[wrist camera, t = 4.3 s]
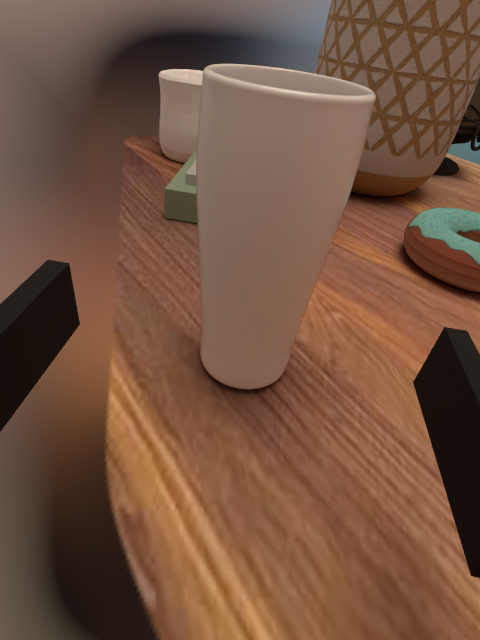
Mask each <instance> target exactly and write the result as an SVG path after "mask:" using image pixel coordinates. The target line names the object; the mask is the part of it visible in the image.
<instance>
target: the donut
mask: <svg viewBox="0 0 480 640" xmlns="http://www.w3.org/2000/svg"><path fill="white" fill-rule="evenodd" d="M404 247H405V250H406V252H407V254H408V255H409V257H410V258H411V259H412V260H413V261H414V262H415V263H416V264H417V265H418V266H419V267H420V268H421V269H423V270H424V271H425V272H427V273H428V274H430V275H432V276H433V277H435V278H437V279H439V280H441V281H443V282H445V283H448V284H450V285H453V286H456V287H459V288H462V289H466V290H469V291H474V292H479V293H480V213H477V212H472V211H468V210H462V209H454V208H433V209H429V210H425V211H423V212H421V213H419V214H418V215H417V216H416V217H415V218H413V219H412V220H411V221H410V223H409V224H408V226H407V227H406V229H405V234H404Z"/></svg>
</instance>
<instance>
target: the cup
mask: <svg viewBox="0 0 480 640" xmlns="http://www.w3.org/2000/svg"><path fill="white" fill-rule="evenodd" d="M202 77H203V71H199V70H188V69H170V70H164V71H161V72H160V74H159V80H160V93H161V110H160V145H161V149H162V151H163V153H164V155H165V156H166V157H168V158H170V159H171V160H174V161H178V162H182V163H186V162H187V161H188V159H189V158H190V157H191V156H192V155H193V153H194V152H195V151H196V150H197V137H198V121H199V109H200V99H201V89H202Z"/></svg>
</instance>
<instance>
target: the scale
mask: <svg viewBox="0 0 480 640" xmlns="http://www.w3.org/2000/svg"><path fill="white" fill-rule="evenodd" d="M196 160H197V150H196V151H195V152H194V153H193V155H192V156H191V157H190V158H189V159H188V161H187V162H186V163H185V164H184V166H183V167H182V168H181V169H180V171H179V172H178V173H177V174H176V175H175V177H174V178H173V179H172V180H171V182H170V183H169V184H168V185H167V186H166V188H165V218H167V219H173V220H180V221H186V222H192V223H197V197H196Z"/></svg>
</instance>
